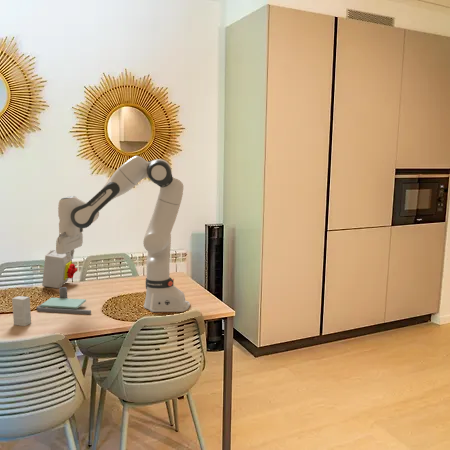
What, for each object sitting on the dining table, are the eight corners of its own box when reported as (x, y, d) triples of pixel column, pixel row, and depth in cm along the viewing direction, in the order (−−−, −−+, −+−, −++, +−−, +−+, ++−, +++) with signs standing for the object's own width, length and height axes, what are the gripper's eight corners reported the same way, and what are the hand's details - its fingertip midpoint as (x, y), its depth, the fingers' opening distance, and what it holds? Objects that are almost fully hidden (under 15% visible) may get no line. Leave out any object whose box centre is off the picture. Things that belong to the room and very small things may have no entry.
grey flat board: (100, 306, 228) (99, 303, 227) (90, 314, 216) (89, 311, 216) (47, 303, 231) (47, 300, 231) (35, 311, 220) (35, 307, 220)
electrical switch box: (68, 292, 256) (72, 257, 253) (41, 288, 256) (45, 253, 253) (77, 284, 271) (80, 251, 268) (51, 280, 270) (54, 247, 267)
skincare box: (31, 323, 205) (30, 296, 203) (25, 326, 201) (23, 299, 199) (20, 321, 206) (18, 295, 205) (13, 324, 202) (11, 298, 201)
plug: (69, 301, 234) (68, 287, 233) (65, 304, 230) (65, 289, 229) (61, 301, 235) (61, 286, 233) (58, 303, 231) (57, 289, 230)
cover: (86, 300, 228) (85, 299, 228) (77, 308, 218) (76, 307, 218) (51, 299, 230) (51, 297, 230) (41, 306, 221) (40, 304, 220)
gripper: (64, 234, 208) (66, 264, 210) (84, 227, 228) (85, 255, 230) (51, 234, 209) (53, 264, 211) (72, 227, 229) (73, 254, 231)
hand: (70, 259), depth 221 cm, fingers closed
